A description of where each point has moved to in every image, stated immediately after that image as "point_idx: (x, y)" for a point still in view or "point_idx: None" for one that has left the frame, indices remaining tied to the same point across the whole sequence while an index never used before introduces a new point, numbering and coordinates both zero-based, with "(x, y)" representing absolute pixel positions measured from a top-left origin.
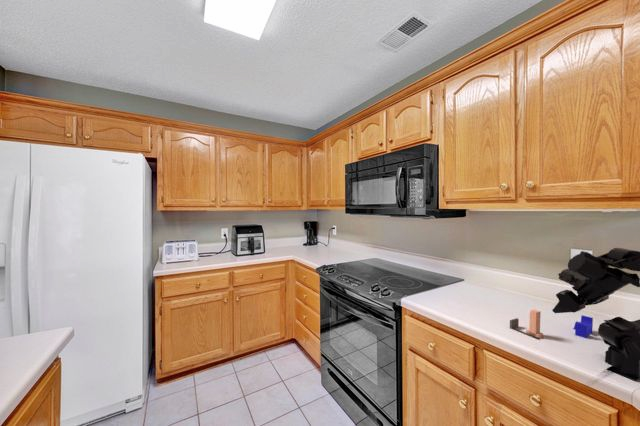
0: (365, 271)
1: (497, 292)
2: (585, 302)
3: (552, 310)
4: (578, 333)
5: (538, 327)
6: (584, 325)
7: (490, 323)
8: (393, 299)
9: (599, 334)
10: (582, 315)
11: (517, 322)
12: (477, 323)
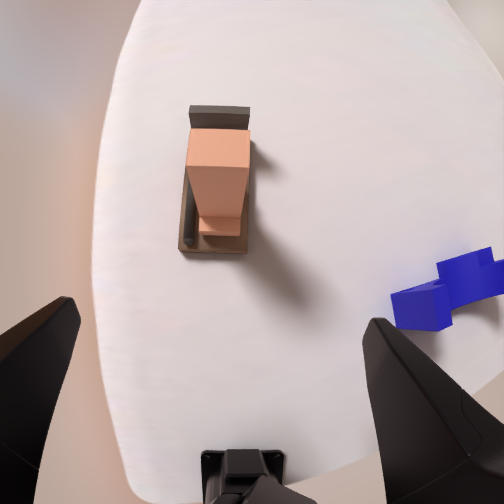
0: None
1: (461, 42)
2: (403, 492)
3: (60, 299)
4: (406, 303)
5: (225, 208)
6: (437, 321)
7: (205, 76)
8: None
9: (215, 499)
10: None
11: (238, 123)
12: (159, 64)
